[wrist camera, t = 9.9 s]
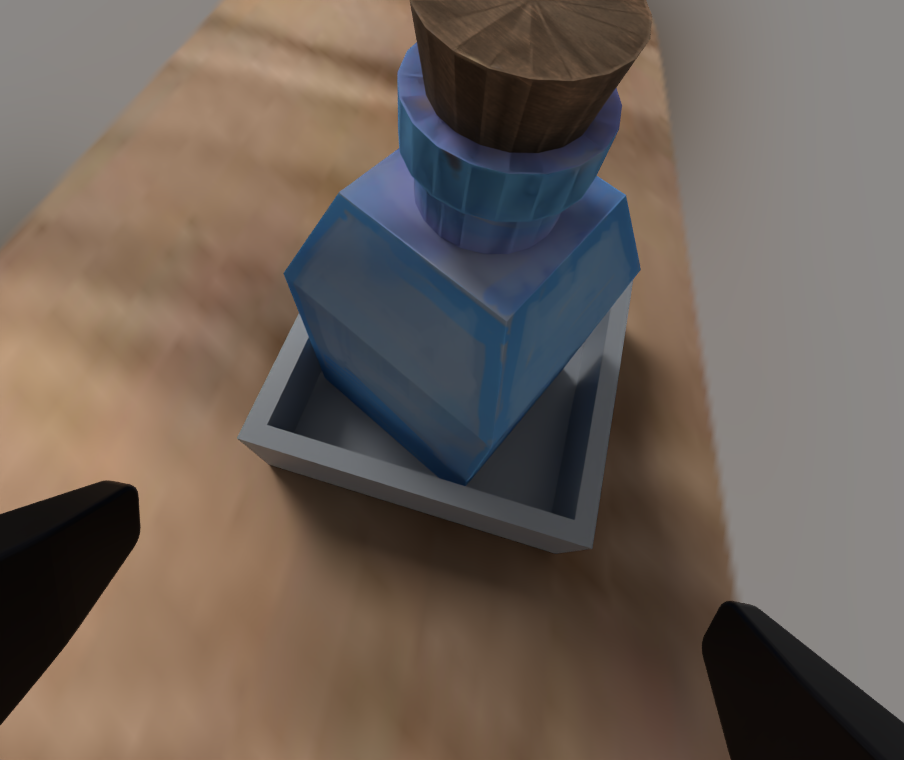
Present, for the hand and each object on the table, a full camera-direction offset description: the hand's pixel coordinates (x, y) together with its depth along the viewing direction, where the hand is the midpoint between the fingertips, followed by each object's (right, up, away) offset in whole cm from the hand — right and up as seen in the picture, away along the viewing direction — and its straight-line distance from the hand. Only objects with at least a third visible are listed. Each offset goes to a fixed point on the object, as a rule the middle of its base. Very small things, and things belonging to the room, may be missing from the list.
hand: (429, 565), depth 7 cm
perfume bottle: (0, +3, +10) cm, 11 cm away
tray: (0, +3, +11) cm, 11 cm away
